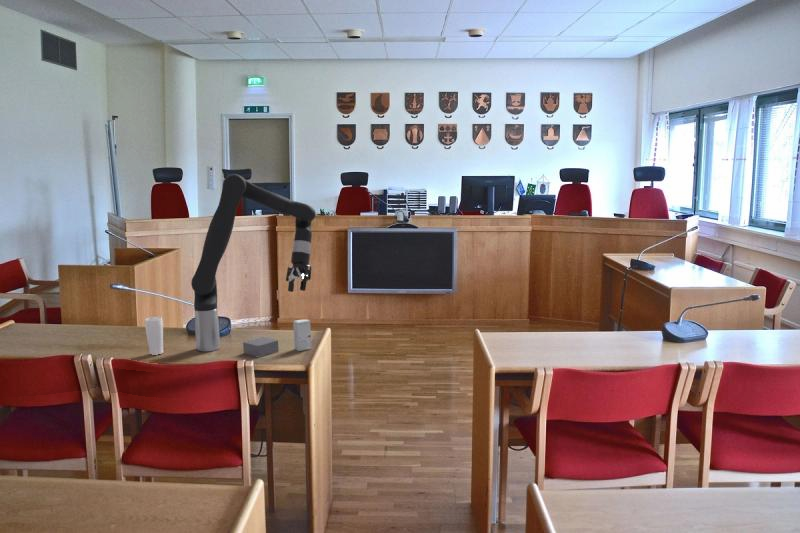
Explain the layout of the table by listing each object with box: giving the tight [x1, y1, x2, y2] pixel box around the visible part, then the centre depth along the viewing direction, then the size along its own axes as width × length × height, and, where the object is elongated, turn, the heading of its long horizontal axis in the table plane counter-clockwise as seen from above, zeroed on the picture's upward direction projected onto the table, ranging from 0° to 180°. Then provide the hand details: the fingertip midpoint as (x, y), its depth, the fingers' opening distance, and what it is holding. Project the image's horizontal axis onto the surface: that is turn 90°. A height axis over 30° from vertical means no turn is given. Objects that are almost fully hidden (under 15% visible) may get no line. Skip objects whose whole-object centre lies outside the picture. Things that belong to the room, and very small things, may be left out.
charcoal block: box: [242, 336, 280, 358], centre depth 268 cm, size 10×10×5 cm
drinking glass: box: [144, 316, 164, 356], centre depth 268 cm, size 7×7×15 cm
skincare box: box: [292, 318, 312, 352], centre depth 270 cm, size 6×4×12 cm
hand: (296, 291), depth 270 cm, fingers open, 8 cm apart
